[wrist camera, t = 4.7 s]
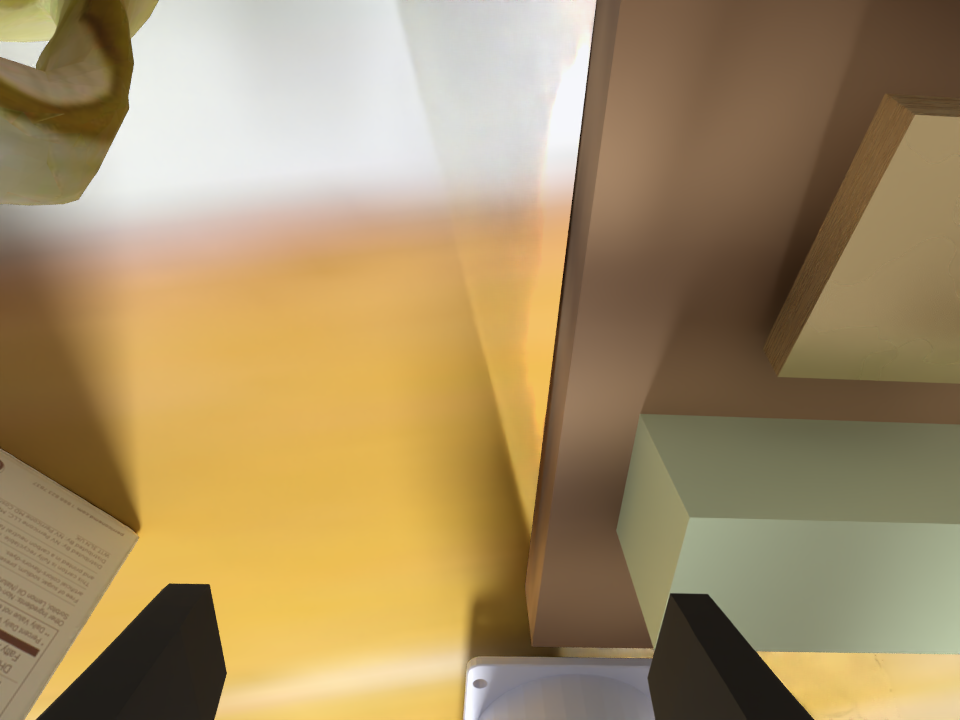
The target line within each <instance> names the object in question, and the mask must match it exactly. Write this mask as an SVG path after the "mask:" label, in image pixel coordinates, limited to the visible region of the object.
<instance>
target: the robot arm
mask: <svg viewBox="0 0 960 720" xmlns="http://www.w3.org/2000/svg"><path fill="white" fill-rule="evenodd" d="M226 674H227V672H226V667H225V662H224V656H223V651H222V646H221V641H220V636H219V630H218V625H217V620H216V615H215V610H214V605H213V599H212V594H211V589H210V584H168V585H167V586H166V587H165V588H164V589H162V590H161V592H160V593H159V594H158V595H157V596H156V597H155V598H154V599H153V600H152V601H151V602H150V603H149V604H148V605H147V606H146V607H145V608H144V609H143V610H142V612H141V613H140V614H139V615H138V616H137V617H136V618H135V619H134V620H133V621H132V622H131V623H130V624H129V625H128V626H127V627H126V628H125V630H124V631H123V632H122V633H121V634H120V635H119V636H118V637H117V638H116V639H115V640H114V641H113V642H112V643H111V644H110V645H109V646H108V647H107V648H106V649H105V650H104V651H103V653H102V654H101V655H100V656H99V657H98V658H97V659H96V660H95V661H94V662H93V663H92V664H91V665H90V666H89V667H88V668H87V669H86V670H85V671H84V672H83V673H82V674H81V675H80V676H79V677H78V678H77V679H76V680H75V681H74V682H73V683H72V684H71V685H70V686H69V687H68V688H67V689H66V690H65V691H64V692H63V693H62V694H61V695H60V696H59V697H58V698H57V699H56V700H55V701H54V702H53V703H52V704H51V705H50V706H49V707H48V708H47V709H46V710H45V711H44V712H43V713H42V714H41V715H40V716H39V717H38V718H37V719H36V720H214V718H215V715H216V711H217V708H218V704H219V700H220V696H221V693H222V689H223V685H224V681H225V678H226ZM463 720H814V719H813V718H812V717H811V715H810V714H809V713H808V712H807V711H806V710H805V709H804V707H803V706H802V705H801V704H800V703H799V702H798V701H797V700H796V698H795V697H794V696H793V695H792V694H791V693H790V692H789V690H788V689H787V688H786V687H785V686H784V685H783V683H782V682H781V681H780V680H779V679H778V677H777V676H776V675H775V674H774V673H773V672H772V670H771V669H770V668H769V667H768V666H767V664H766V663H765V662H764V661H763V660H762V658H761V657H760V656H759V655H758V654H757V652H756V651H755V650H754V649H753V648H752V646H751V645H750V644H749V643H748V642H747V640H746V639H745V638H744V637H743V635H742V634H741V633H740V632H739V631H738V629H737V628H736V627H735V626H734V625H733V623H732V622H731V621H730V620H729V618H728V617H727V616H726V615H725V614H724V612H723V611H722V610H721V609H720V608H719V606H718V605H717V604H716V603H715V602H714V600H713V599H712V598H711V597H710V596H709V595H708V594H689V593H670V596H669V599H668V603H667V607H666V611H665V614H664V618H663V622H662V625H661V629H660V633H659V637H658V640H657V644H656V648H655V651H654V655H653V658H584V657H511V656H478V657H474V658H472V659H471V660H470V661H469V662H468V664H467V669H466V683H465V698H464V712H463Z"/></svg>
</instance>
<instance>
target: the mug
mask: <svg viewBox="0 0 960 720" xmlns="http://www.w3.org/2000/svg"><path fill="white" fill-rule="evenodd" d="M158 1H159V0H0V41H5V42H35V41H49V42H48V44H47V45H46V47H45V48H44V50H43V51H42V53H41V55H40V57H39V59H38V61H37V64H36V69H35V68H32V67H29V66H26V65H23V64H20V63H17V62H14V61H11V60H8V59H5V58H2V57H0V204H16V205H53V204H65V203H69V202H72V201H76V200H79V198H80V197H81V195H82V194H83V192H84V191H85V189H86V188H87V186H88V185H89V183H90V182H91V180H92V179H93V177H94V176H95V175H96V173H97V172H98V170H99V168H100V166H101V164H102V162H103V160H104V158H105V156H106V154H107V152H108V150H109V148H110V146H111V144H112V142H113V140H114V138H115V136H116V134H117V132H118V130H119V128H120V126H121V124H122V122H123V120H124V118H125V116H126V114H127V112H128V110H129V100H128V94H129V89H130V83H131V78H132V72H133V66H134V60H133V53H132V46H131V38H132V37H133V36H134V35H135V34H136V32H137V31H138V30H139V29H140V28H141V27H142V25H143V24H144V23H145V22H146V21H147V20H148V18H149V17H150V15H151V14H152V12H153V10H154V8H155V6H156V4H157V3H158Z"/></svg>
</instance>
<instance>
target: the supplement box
mask: <svg viewBox="0 0 960 720" xmlns="http://www.w3.org/2000/svg"><path fill="white" fill-rule="evenodd" d="M138 539H139V536H138V535H137V534H136V533H135V532H134V531H133V530H132V529H131V528H129V527H127V526H126V525H124V524H122V523H121V522H119V521H118V520H116V519H115V518H113V517H112V516H110V515H109V514H107V513H105V512H104V511H102V510H100V509H99V508H97V507H95V506H93V505H92V504H90V503H89V502H87V501H86V500H84V499H83V498H81V497H79V496H78V495H76V494H74V493H73V492H71V491H69V490H68V489H66V488H64V487H63V486H61V485H59V484H58V483H56V482H55V481H53V480H52V479H50V478H48V477H47V476H45V475H43V474H42V473H40V472H38V471H37V470H35V469H34V468H32V467H30V466H29V465H27V464H25V463H24V462H22V461H20V460H18V459H17V458H15V457H14V456H12V455H11V454H9V453H7V452H6V451H4V450H2V449H1V448H0V720H25V718H26V717H27V715H28V713H29V712H30V710H31V709H32V707H33V706H34V704H35V702H36V701H37V699H38V698H39V696H40V695H41V693H42V691H43V690H44V688H45V687H46V685H47V684H48V682H49V680H50V679H51V677H52V676H53V674H54V672H55V671H56V669H57V668H58V666H59V665H60V663H61V662H62V660H63V658H64V657H65V655H66V654H67V652H68V650H69V649H70V647H71V646H72V644H73V642H74V641H75V639H76V638H77V636H78V635H79V633H80V631H81V630H82V628H83V627H84V625H85V624H86V622H87V620H88V619H89V617H90V616H91V614H92V612H93V611H94V609H95V607H96V606H97V604H98V603H99V601H100V600H101V598H102V596H103V595H104V593H105V592H106V590H107V589H108V587H109V585H110V584H111V582H112V581H113V579H114V577H115V576H116V574H117V573H118V571H119V569H120V568H121V566H122V565H123V563H124V561H125V560H126V558H127V557H128V555H129V554H130V552H131V551H132V549H133V548H134V546H135V544H136V543H137V541H138Z"/></svg>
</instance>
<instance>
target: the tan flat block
mask: <svg viewBox="0 0 960 720" xmlns="http://www.w3.org/2000/svg"><path fill="white" fill-rule="evenodd" d="M762 349H763V351H764V352H765V354H766V356H767V358H768V360H769V362H770V364H771V366H772V367H773V369H774V371H775V373H776V375H777V377H793V378H820V379H847V380H874V381H901V382H928V383H955V384H960V98H953V97H937V96H920V95H904V94H887V93H885V95H884V97H883V99H882V101H881V103H880V105H879V108H878V110H877V112H876V114H875V116H874V118H873V120H872V122H871V124H870V126H869V128H868V130H867V132H866V134H865V137H864V139H863V141H862V143H861V145H860V147H859V149H858V151H857V153H856V155H855V157H854V159H853V161H852V164H851V166H850V168H849V170H848V172H847V174H846V176H845V178H844V180H843V182H842V184H841V186H840V188H839V190H838V193H837V195H836V197H835V199H834V201H833V203H832V205H831V207H830V209H829V211H828V213H827V215H826V217H825V220H824V222H823V224H822V226H821V228H820V230H819V232H818V234H817V236H816V238H815V240H814V242H813V244H812V246H811V249H810V251H809V253H808V255H807V257H806V259H805V261H804V263H803V265H802V267H801V269H800V271H799V273H798V276H797V278H796V280H795V282H794V284H793V286H792V288H791V290H790V292H789V294H788V296H787V298H786V300H785V302H784V305H783V307H782V309H781V311H780V313H779V315H778V317H777V319H776V321H775V323H774V325H773V327H772V329H771V332H770V334H769V336H768V338H767V340H766V342H765V344H764V346H763V348H762Z"/></svg>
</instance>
